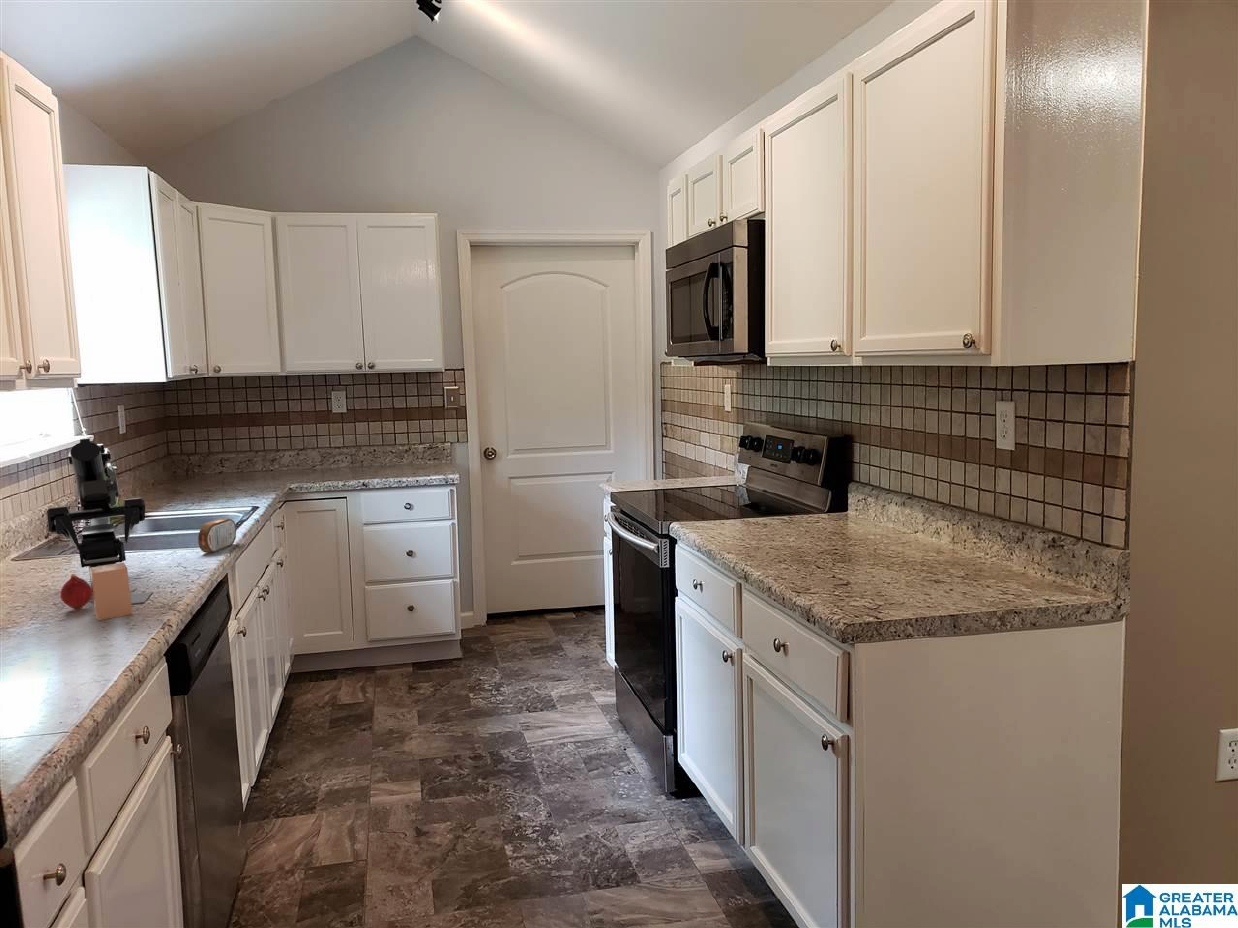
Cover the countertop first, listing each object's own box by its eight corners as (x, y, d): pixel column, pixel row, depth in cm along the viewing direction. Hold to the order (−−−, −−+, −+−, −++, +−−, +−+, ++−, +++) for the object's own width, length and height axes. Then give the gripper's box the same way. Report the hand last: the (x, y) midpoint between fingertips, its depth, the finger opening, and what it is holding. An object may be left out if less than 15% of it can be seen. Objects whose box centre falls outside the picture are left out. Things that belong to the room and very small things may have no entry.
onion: (99, 605, 198) (94, 569, 197) (84, 612, 193) (80, 576, 192) (72, 606, 198) (67, 571, 197) (57, 614, 193) (52, 577, 191)
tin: (229, 543, 260) (226, 515, 259) (239, 543, 260) (236, 514, 259) (198, 555, 246) (195, 525, 244) (209, 555, 245) (206, 525, 244)
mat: (109, 597, 205) (109, 596, 205) (152, 593, 207) (152, 591, 207) (98, 608, 196) (98, 606, 196) (144, 603, 198) (143, 601, 198)
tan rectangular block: (95, 613, 192) (89, 567, 191) (129, 607, 195) (123, 562, 194) (97, 620, 187) (92, 573, 185) (132, 613, 190) (127, 567, 189)
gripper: (41, 471, 193) (49, 528, 185) (139, 462, 203) (151, 516, 196) (44, 503, 201) (53, 560, 193) (139, 492, 211) (150, 546, 203)
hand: (102, 544), depth 196 cm, fingers open, 9 cm apart
